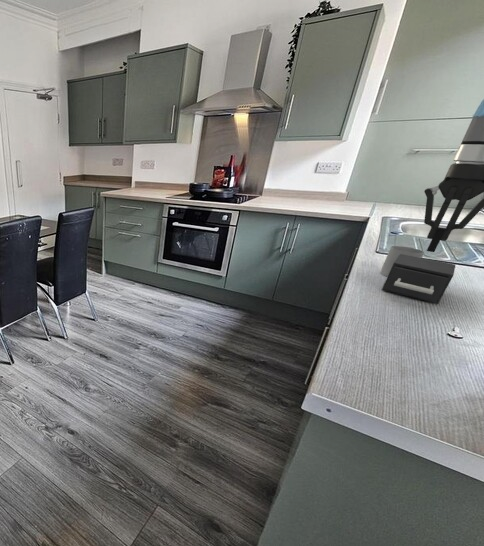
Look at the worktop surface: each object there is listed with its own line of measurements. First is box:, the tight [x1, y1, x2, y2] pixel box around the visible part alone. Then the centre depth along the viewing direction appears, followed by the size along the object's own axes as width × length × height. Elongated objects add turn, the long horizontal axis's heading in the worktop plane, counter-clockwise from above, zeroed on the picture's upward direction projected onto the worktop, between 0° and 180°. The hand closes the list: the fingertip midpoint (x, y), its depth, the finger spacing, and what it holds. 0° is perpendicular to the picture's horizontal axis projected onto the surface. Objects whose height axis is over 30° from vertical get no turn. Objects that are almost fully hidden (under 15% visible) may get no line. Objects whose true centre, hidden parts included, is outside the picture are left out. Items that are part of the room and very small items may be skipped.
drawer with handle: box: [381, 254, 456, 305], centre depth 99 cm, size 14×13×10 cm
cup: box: [379, 245, 425, 278], centre depth 111 cm, size 8×8×10 cm
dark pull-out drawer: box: [385, 266, 449, 302], centre depth 96 cm, size 18×11×8 cm, turn 130°
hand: (430, 250), depth 88 cm, fingers closed
